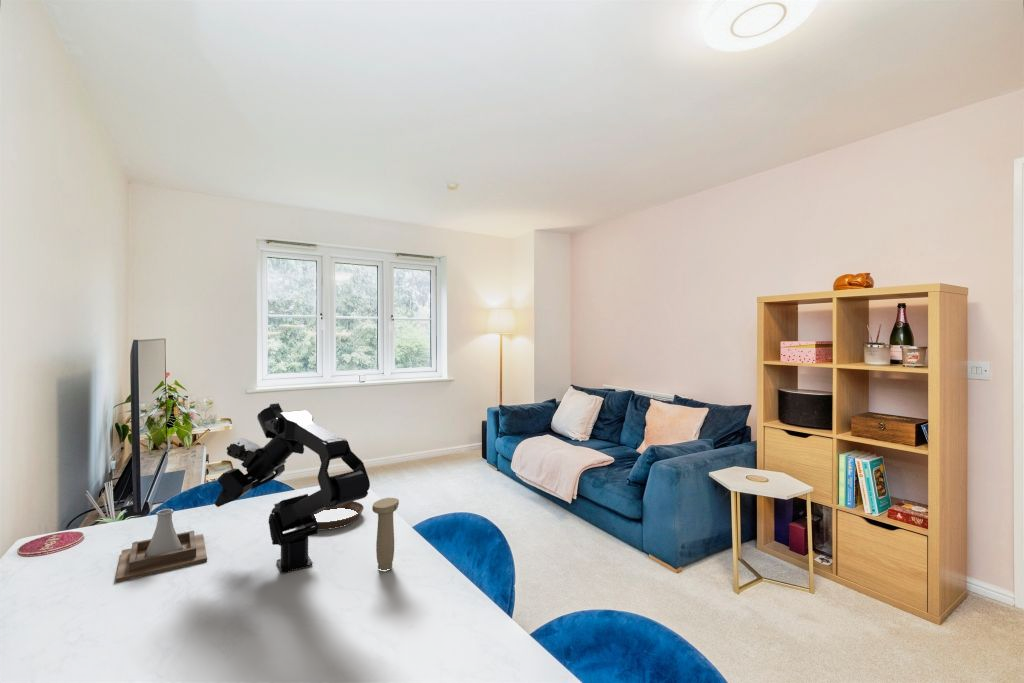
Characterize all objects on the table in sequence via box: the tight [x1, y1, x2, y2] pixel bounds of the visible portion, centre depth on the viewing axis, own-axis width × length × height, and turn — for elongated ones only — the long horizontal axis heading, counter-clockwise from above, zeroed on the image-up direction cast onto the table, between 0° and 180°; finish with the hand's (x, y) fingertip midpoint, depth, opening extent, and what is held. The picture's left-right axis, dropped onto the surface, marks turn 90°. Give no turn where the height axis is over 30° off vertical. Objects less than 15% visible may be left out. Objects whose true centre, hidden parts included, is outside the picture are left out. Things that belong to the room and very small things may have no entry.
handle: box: [371, 497, 400, 570], centre depth 104 cm, size 5×6×15 cm
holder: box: [115, 530, 208, 583], centre depth 108 cm, size 16×16×3 cm
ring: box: [303, 501, 364, 530], centre depth 131 cm, size 18×18×3 cm
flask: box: [145, 508, 183, 557], centre depth 108 cm, size 7×7×10 cm
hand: (229, 498), depth 109 cm, fingers open, 9 cm apart
